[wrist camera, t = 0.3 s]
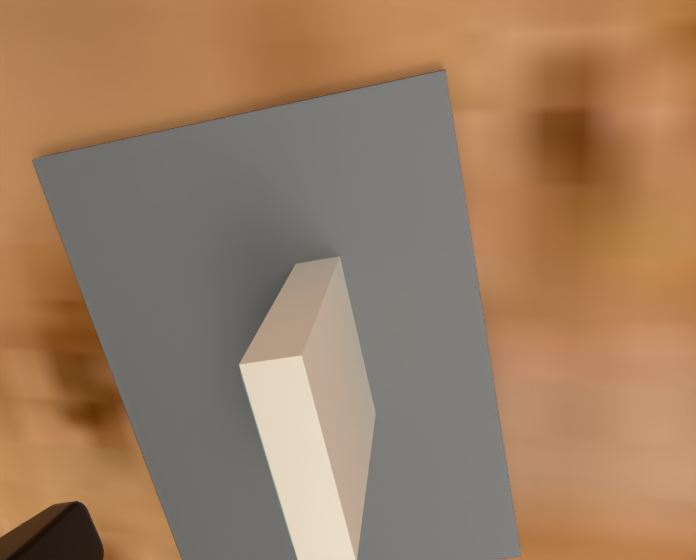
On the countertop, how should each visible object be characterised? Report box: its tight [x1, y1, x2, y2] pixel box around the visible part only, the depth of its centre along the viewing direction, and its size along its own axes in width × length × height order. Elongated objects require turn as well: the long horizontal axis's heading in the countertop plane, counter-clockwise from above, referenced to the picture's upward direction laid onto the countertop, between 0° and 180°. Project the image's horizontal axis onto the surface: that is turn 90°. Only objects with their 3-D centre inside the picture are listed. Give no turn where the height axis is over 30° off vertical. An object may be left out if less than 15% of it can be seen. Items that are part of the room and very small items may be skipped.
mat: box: [32, 70, 521, 560], centre depth 23 cm, size 18×14×1 cm
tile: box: [239, 256, 376, 560], centre depth 19 cm, size 6×2×7 cm, turn 12°
